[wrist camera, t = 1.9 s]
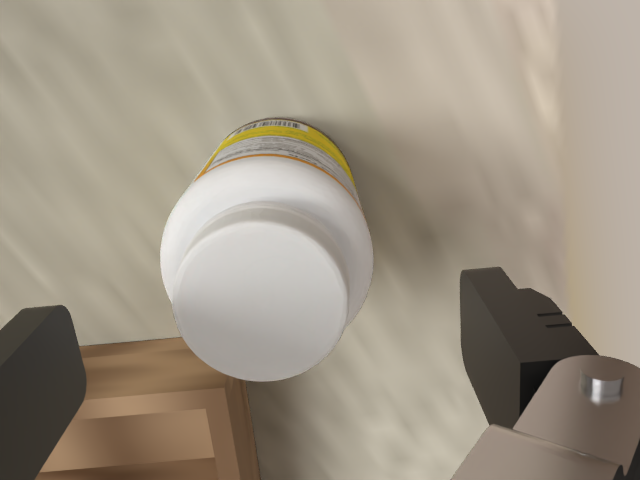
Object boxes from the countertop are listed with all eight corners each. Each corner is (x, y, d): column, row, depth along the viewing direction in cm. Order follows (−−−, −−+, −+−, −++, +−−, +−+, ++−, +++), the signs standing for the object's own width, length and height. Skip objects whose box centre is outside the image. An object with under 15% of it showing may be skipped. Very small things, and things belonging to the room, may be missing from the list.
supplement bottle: (280, 282, 24) (261, 454, 14) (176, 186, 23) (78, 306, 13) (383, 189, 23) (438, 309, 13) (280, 81, 21) (257, 127, 12)
